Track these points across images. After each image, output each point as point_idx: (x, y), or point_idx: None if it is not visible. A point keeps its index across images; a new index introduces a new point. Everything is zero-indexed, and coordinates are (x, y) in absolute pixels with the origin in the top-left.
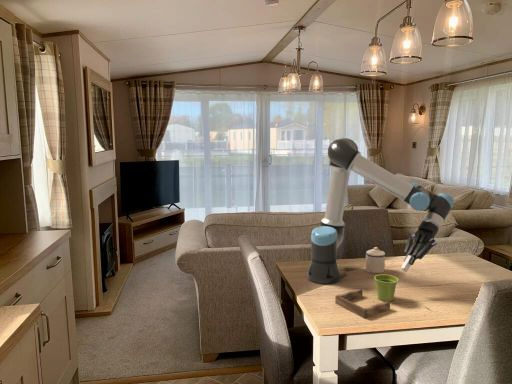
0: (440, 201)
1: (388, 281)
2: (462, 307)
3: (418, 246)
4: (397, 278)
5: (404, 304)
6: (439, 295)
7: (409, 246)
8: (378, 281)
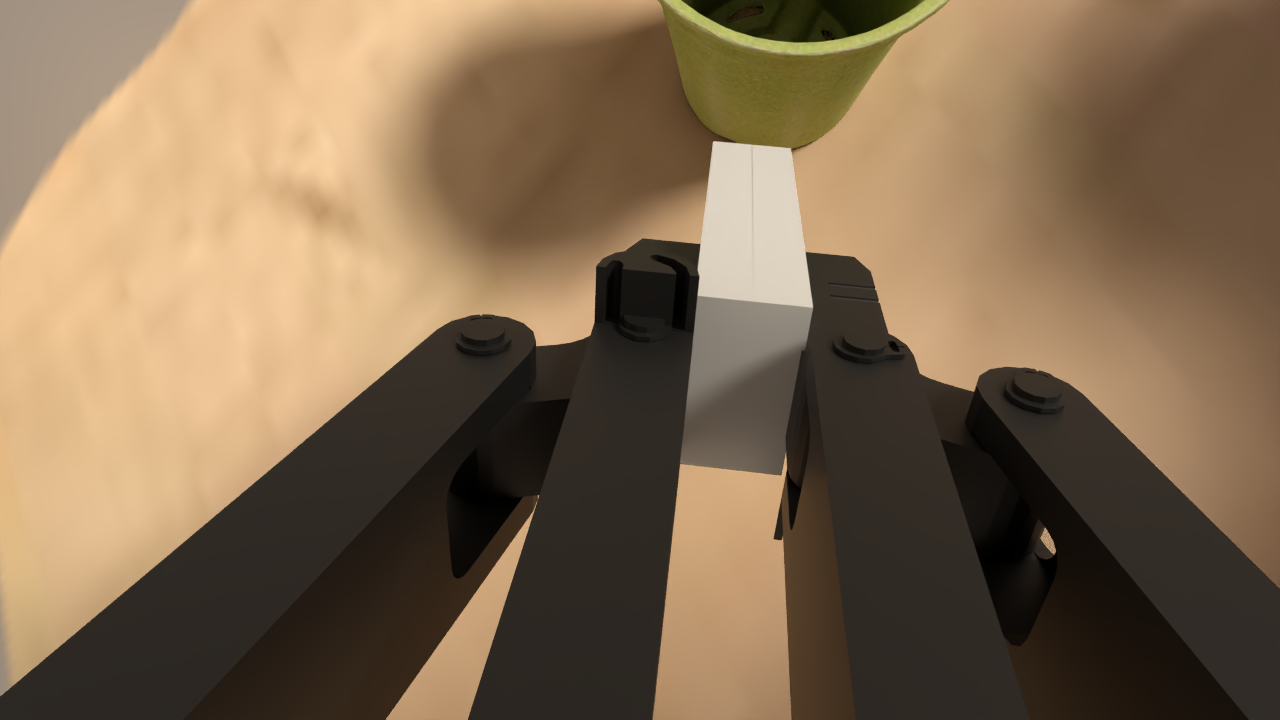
0: None
1: (841, 65)
2: (43, 538)
3: (591, 617)
4: (688, 9)
5: (539, 105)
6: None
7: (1126, 674)
8: None
